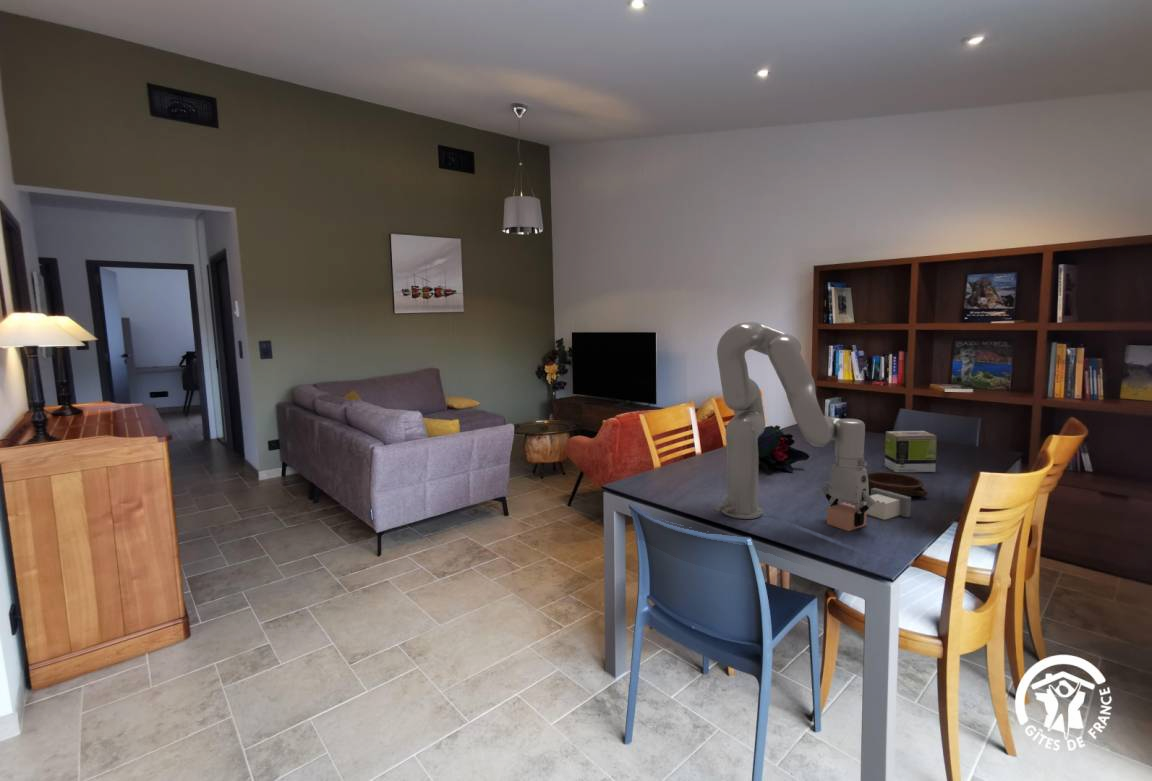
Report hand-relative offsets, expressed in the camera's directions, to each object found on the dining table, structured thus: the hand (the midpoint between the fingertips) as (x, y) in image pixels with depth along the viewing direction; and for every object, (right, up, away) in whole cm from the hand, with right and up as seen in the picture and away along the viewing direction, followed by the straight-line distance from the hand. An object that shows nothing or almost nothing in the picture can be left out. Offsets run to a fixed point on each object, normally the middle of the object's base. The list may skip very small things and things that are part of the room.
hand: (846, 521), depth 166 cm
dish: (+31, +2, +32) cm, 45 cm away
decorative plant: (+1, +6, +62) cm, 63 cm away
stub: (0, -1, 0) cm, 1 cm away
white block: (+16, -1, +9) cm, 19 cm away
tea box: (+53, +7, +59) cm, 79 cm away
